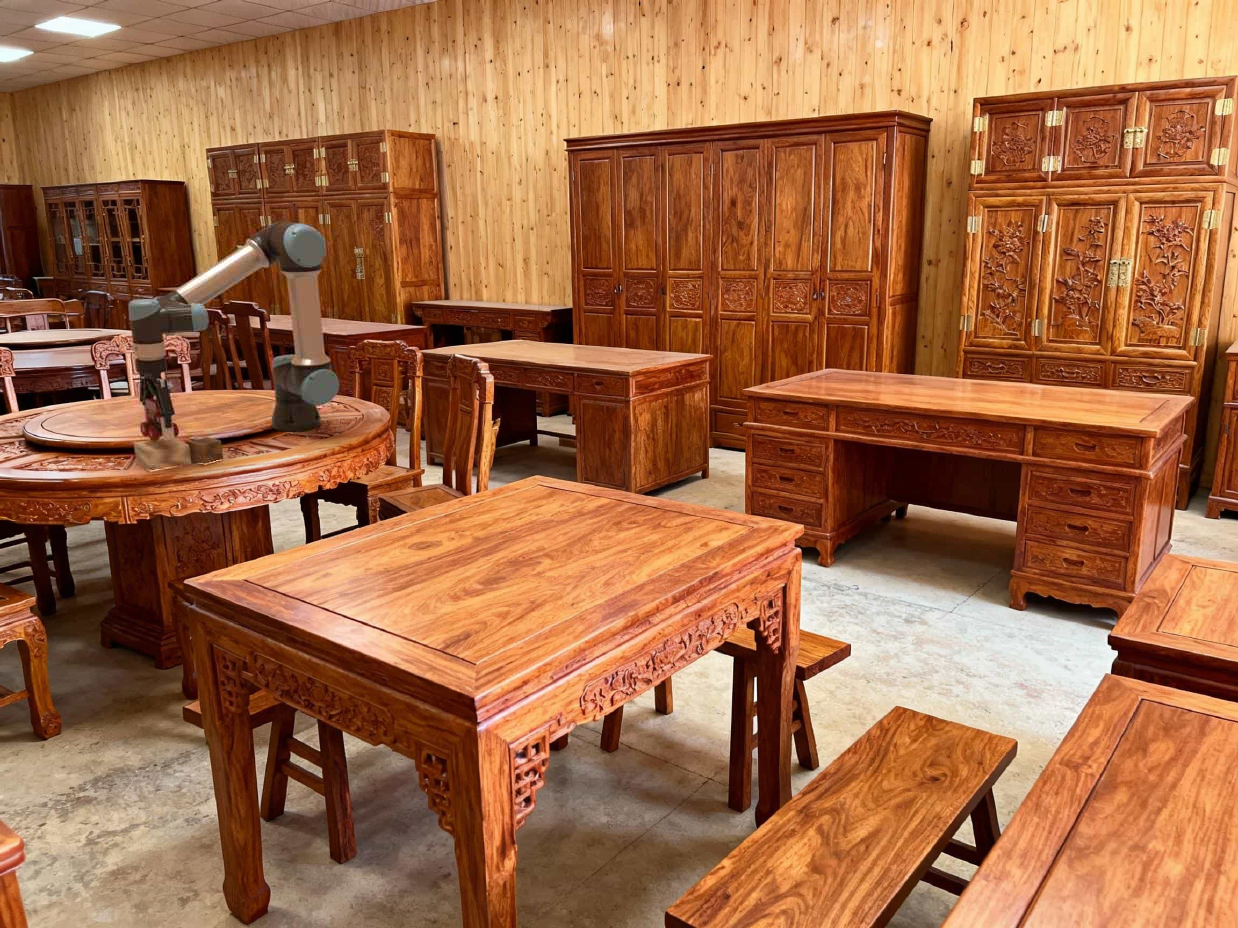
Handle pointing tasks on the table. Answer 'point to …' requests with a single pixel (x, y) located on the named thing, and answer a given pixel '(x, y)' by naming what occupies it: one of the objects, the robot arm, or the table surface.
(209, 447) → the walnut cube
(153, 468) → the birch block
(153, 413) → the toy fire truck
